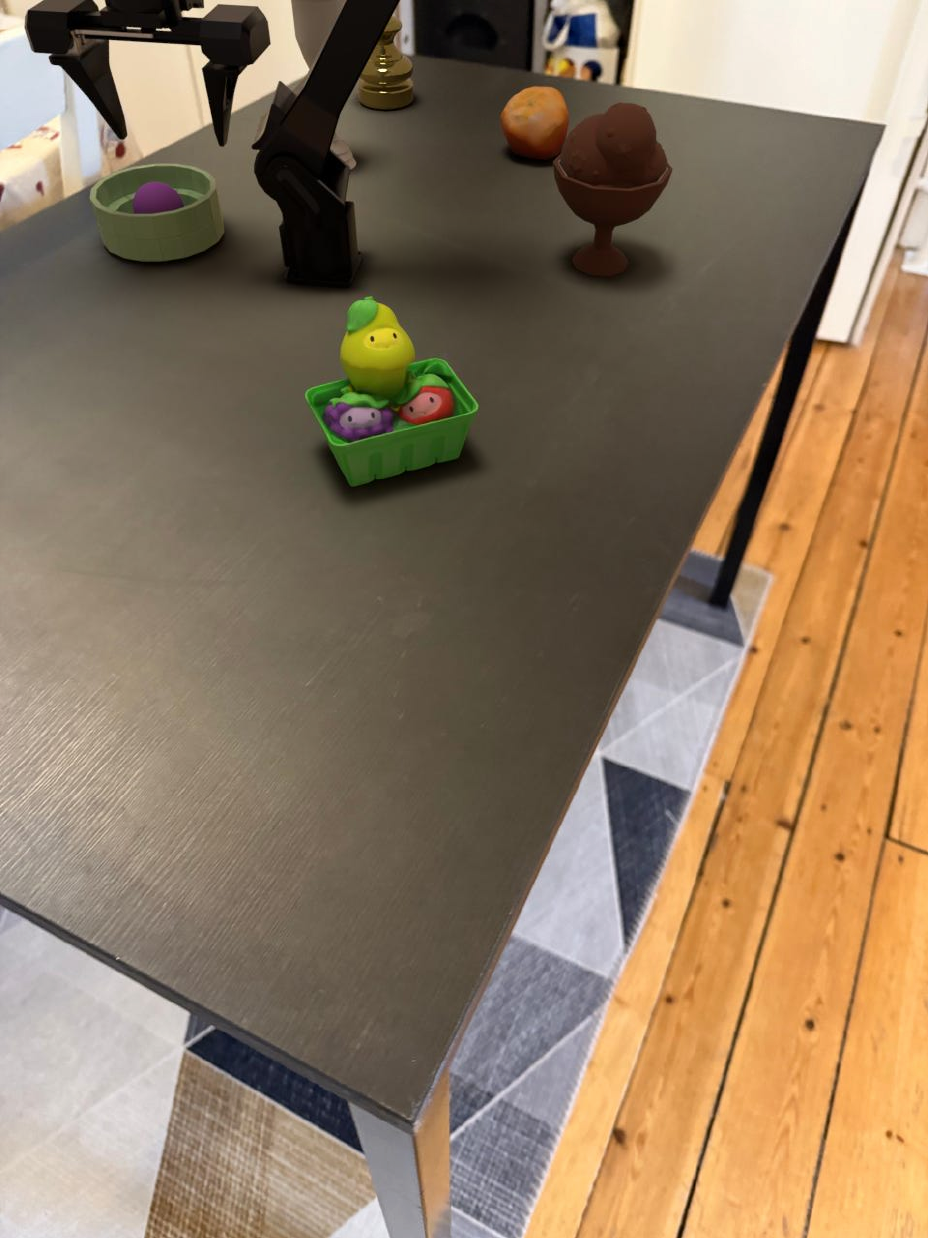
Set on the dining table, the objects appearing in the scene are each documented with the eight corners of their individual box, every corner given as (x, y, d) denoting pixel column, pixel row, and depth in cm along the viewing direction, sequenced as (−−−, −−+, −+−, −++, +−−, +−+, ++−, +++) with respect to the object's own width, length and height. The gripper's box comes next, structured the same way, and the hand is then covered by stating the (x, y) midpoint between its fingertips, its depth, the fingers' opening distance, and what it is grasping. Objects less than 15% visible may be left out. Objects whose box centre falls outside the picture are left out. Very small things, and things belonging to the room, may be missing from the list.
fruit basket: (340, 503, 65) (323, 369, 57) (305, 434, 71) (285, 303, 62) (481, 464, 68) (485, 332, 60) (437, 402, 74) (435, 272, 65)
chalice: (353, 179, 102) (339, -7, 89) (297, 173, 103) (274, -12, 89) (370, 154, 107) (359, -27, 93) (316, 148, 108) (297, -31, 94)
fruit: (587, 131, 108) (577, 79, 101) (557, 185, 108) (545, 136, 100) (529, 117, 111) (516, 65, 104) (500, 170, 110) (484, 121, 103)
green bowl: (240, 215, 96) (231, 167, 92) (202, 271, 88) (191, 220, 84) (132, 207, 97) (119, 159, 93) (84, 261, 89) (68, 211, 85)
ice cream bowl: (666, 249, 92) (696, 89, 81) (633, 299, 85) (660, 132, 74) (569, 228, 95) (585, 70, 83) (530, 275, 88) (542, 110, 77)
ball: (195, 224, 93) (186, 175, 90) (179, 246, 90) (168, 196, 86) (150, 220, 94) (138, 170, 90) (131, 242, 90) (119, 192, 87)
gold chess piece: (352, 108, 116) (345, 19, 109) (365, 88, 121) (360, 2, 114) (407, 112, 116) (404, 23, 108) (418, 92, 121) (416, 5, 113)
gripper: (274, -96, 72) (299, 114, 83) (54, -106, 73) (109, 101, 85) (231, -63, 64) (265, 162, 76) (-12, -75, 66) (58, 147, 78)
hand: (173, 141), depth 79 cm, fingers open, 9 cm apart
